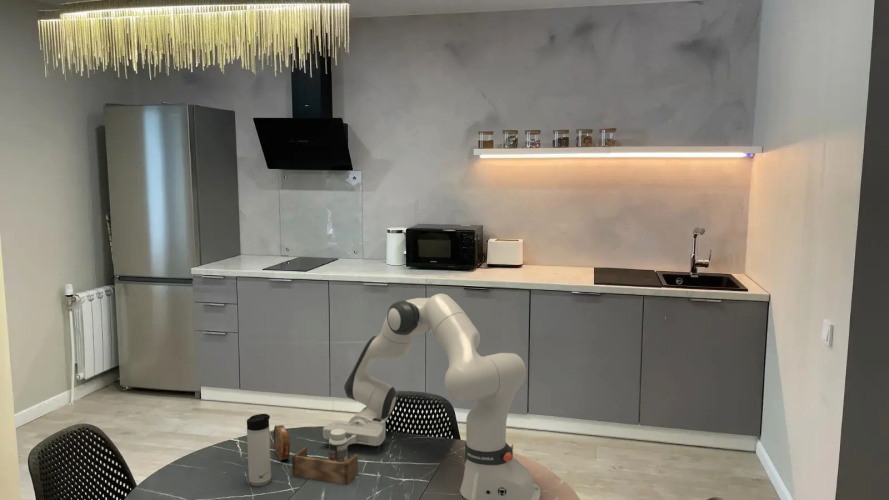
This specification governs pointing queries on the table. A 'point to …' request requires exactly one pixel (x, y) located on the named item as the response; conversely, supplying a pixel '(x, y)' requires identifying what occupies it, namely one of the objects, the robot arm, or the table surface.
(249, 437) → the travel mug
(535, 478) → the table surface
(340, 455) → the pill bottle
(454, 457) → the table surface
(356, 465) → the box
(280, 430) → the tin
